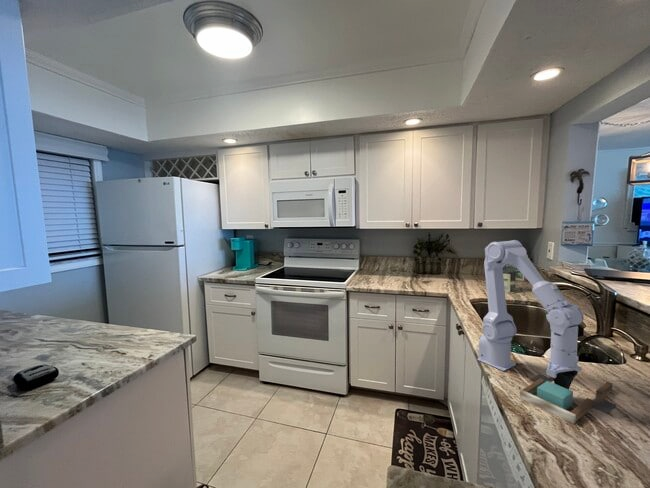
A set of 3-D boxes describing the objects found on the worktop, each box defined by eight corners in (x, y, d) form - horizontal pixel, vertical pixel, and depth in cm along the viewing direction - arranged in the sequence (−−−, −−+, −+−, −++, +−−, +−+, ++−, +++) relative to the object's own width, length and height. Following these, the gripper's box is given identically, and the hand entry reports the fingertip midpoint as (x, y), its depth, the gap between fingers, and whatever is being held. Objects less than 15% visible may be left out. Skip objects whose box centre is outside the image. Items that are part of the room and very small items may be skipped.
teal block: (536, 400, 80) (537, 387, 80) (547, 393, 83) (547, 380, 83) (562, 413, 75) (563, 399, 74) (572, 404, 78) (573, 391, 77)
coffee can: (511, 289, 192) (511, 269, 191) (518, 293, 182) (518, 272, 181) (494, 289, 194) (495, 269, 193) (500, 293, 184) (501, 272, 183)
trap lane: (509, 392, 84) (509, 385, 84) (550, 366, 97) (550, 361, 96) (589, 431, 68) (589, 424, 68) (626, 395, 81) (626, 388, 80)
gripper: (569, 360, 73) (567, 410, 74) (592, 346, 80) (590, 391, 81) (538, 350, 79) (537, 395, 80) (562, 337, 86) (560, 379, 87)
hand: (561, 392), depth 81 cm, fingers closed
